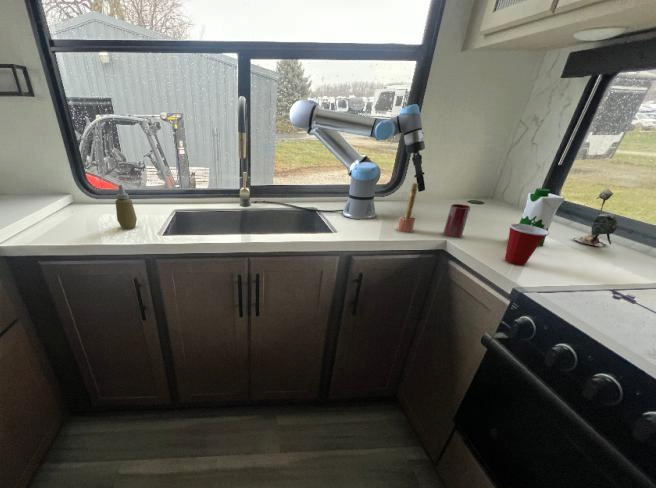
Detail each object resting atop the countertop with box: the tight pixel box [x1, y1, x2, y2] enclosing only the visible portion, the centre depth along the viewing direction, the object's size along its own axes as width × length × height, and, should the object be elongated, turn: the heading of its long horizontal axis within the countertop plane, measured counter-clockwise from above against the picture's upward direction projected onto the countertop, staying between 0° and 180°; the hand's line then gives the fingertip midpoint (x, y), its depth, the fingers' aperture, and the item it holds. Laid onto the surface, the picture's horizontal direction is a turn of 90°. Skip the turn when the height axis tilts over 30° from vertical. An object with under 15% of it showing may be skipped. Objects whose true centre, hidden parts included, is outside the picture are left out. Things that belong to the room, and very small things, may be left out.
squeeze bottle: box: [114, 184, 138, 230], centre depth 144 cm, size 8×8×18 cm
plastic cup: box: [504, 222, 550, 266], centre depth 110 cm, size 11×11×12 cm
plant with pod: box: [573, 188, 618, 248], centre depth 123 cm, size 8×11×20 cm
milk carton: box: [518, 187, 566, 247], centre depth 124 cm, size 9×9×20 cm
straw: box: [404, 182, 418, 219], centre depth 138 cm, size 2×2×19 cm
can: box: [442, 203, 472, 239], centre depth 134 cm, size 7×7×12 cm
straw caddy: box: [397, 215, 416, 233], centre depth 141 cm, size 6×6×6 cm
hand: (421, 190), depth 157 cm, fingers open, 13 cm apart
